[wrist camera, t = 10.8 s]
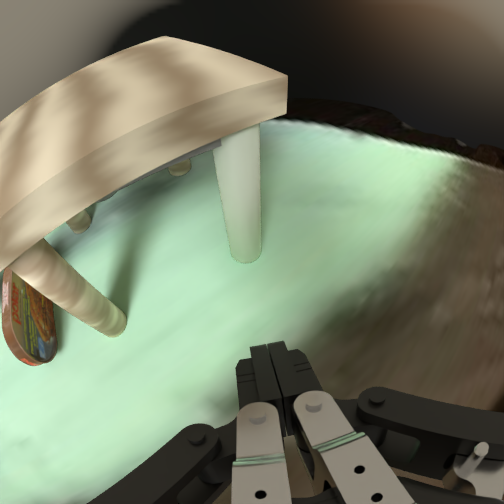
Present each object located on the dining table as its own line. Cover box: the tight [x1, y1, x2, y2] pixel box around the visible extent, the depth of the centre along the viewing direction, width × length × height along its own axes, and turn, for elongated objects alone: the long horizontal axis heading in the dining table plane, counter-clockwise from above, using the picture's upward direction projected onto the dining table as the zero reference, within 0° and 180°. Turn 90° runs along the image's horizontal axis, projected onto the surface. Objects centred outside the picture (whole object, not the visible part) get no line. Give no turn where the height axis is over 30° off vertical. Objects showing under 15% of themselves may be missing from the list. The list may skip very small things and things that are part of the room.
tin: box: [2, 267, 57, 366], centre depth 25 cm, size 15×3×8 cm, turn 25°
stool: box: [0, 36, 288, 338], centre depth 26 cm, size 24×24×21 cm
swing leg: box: [96, 123, 261, 264], centre depth 24 cm, size 13×4×17 cm, turn 119°
